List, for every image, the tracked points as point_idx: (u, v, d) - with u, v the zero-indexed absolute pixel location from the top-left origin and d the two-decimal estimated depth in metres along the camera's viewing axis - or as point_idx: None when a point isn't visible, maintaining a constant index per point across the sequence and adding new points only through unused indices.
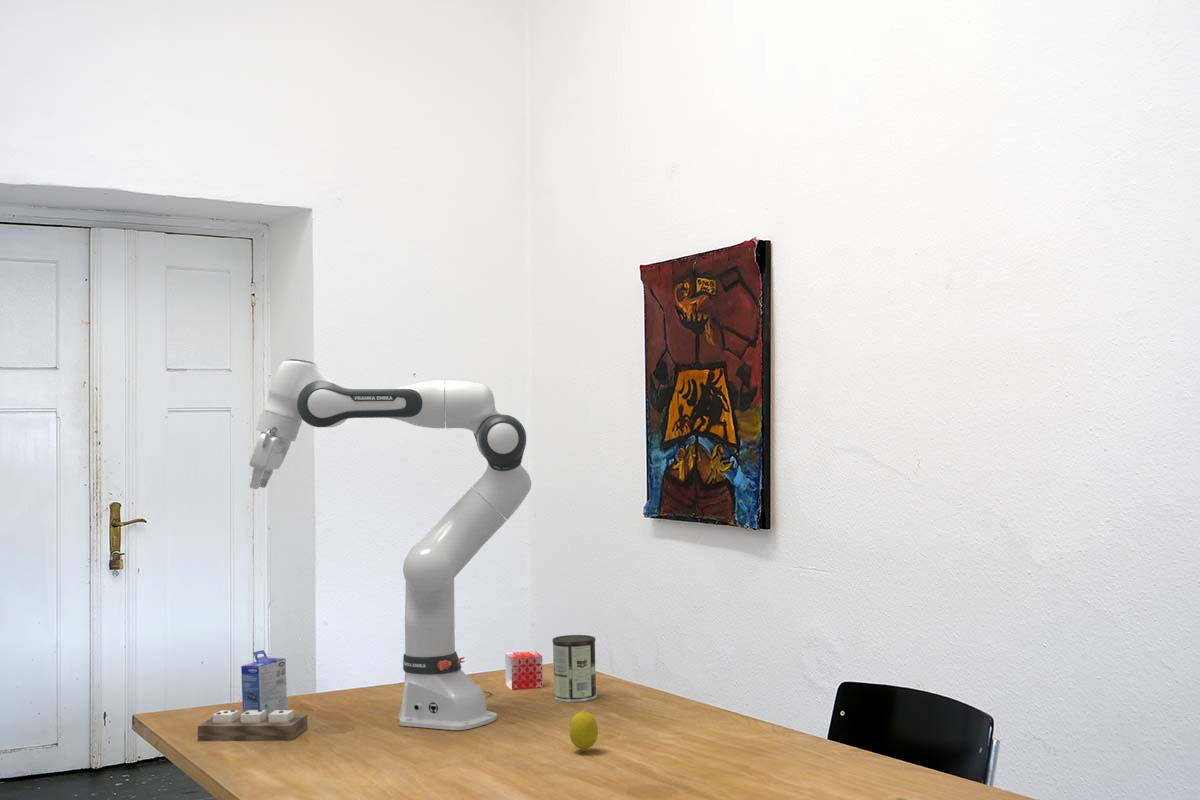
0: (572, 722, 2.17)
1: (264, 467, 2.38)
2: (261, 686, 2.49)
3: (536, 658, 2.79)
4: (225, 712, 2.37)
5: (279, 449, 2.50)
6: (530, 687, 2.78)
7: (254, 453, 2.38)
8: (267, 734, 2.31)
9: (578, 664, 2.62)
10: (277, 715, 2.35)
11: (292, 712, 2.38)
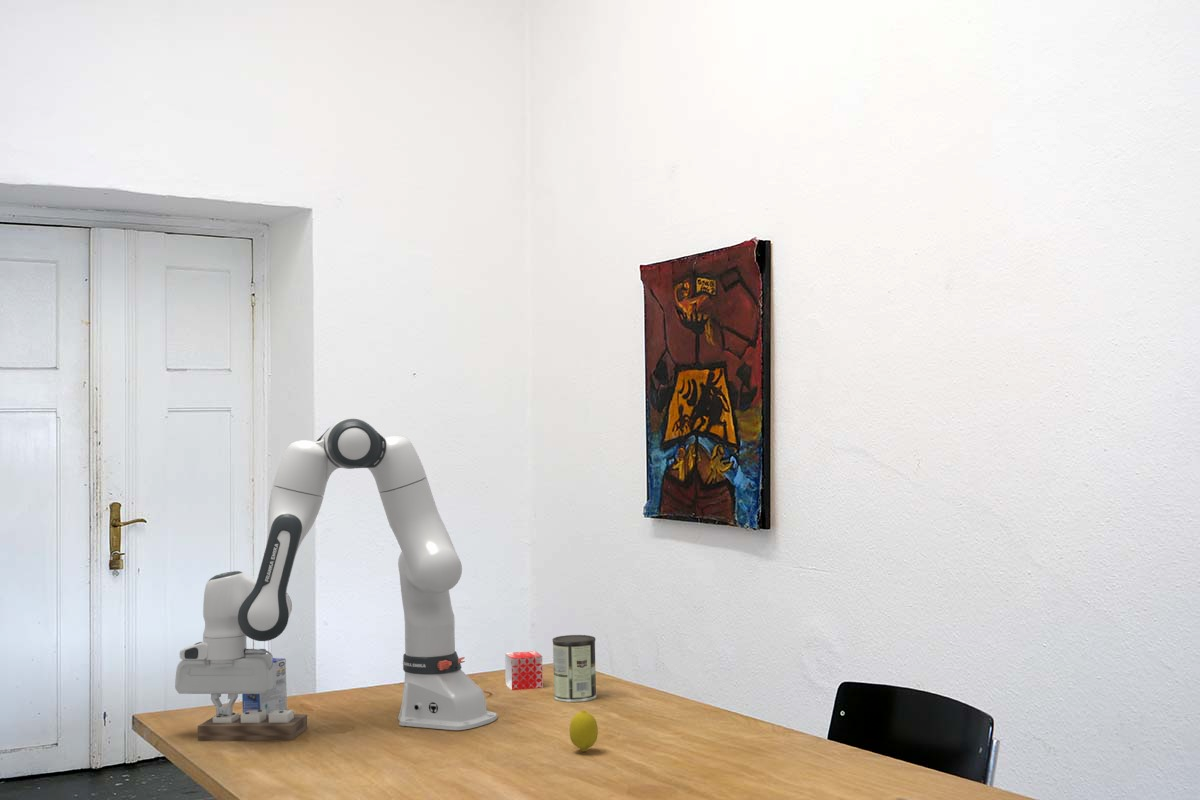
0: (572, 722, 2.17)
1: None
2: None
3: (536, 658, 2.79)
4: (225, 715, 2.37)
5: None
6: (530, 687, 2.78)
7: (268, 680, 2.35)
8: (267, 734, 2.31)
9: (578, 664, 2.62)
10: (277, 715, 2.35)
11: (292, 712, 2.38)
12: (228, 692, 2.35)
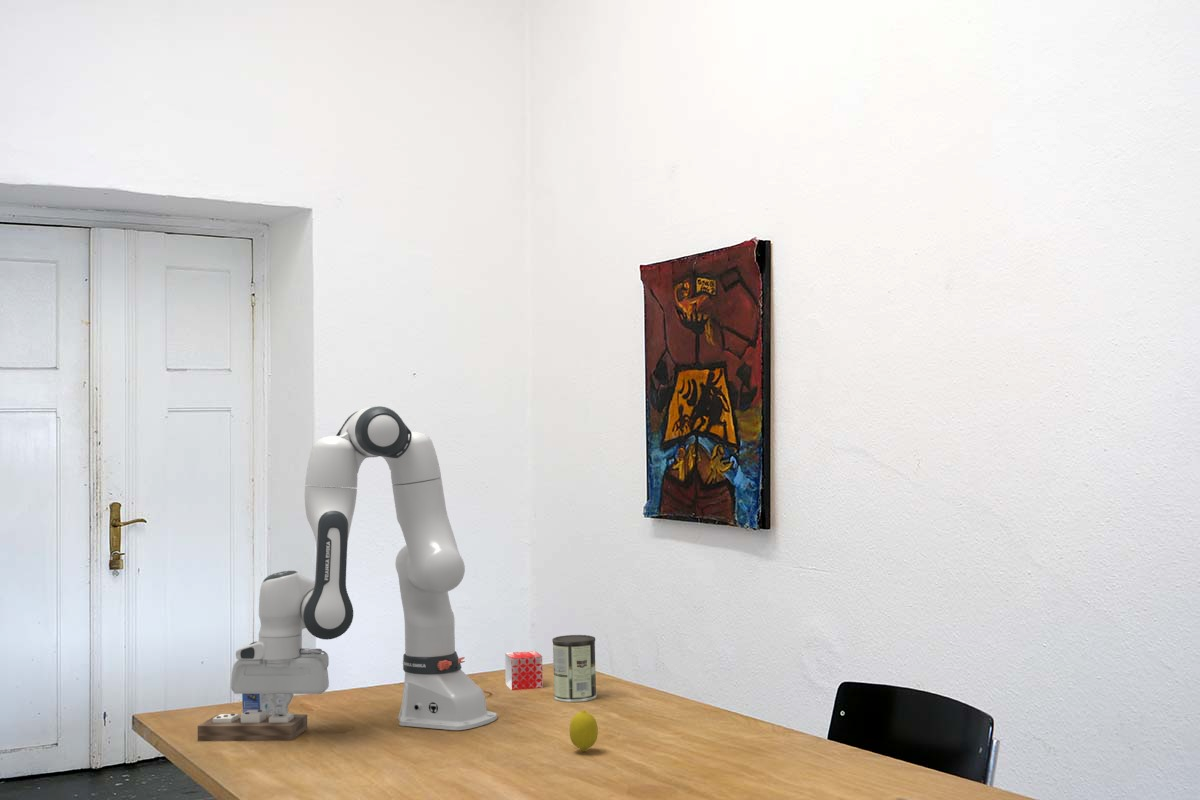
0: (572, 722, 2.17)
1: None
2: None
3: (536, 658, 2.79)
4: (225, 716, 2.37)
5: None
6: (530, 687, 2.78)
7: (324, 679, 2.35)
8: (267, 734, 2.31)
9: (577, 664, 2.62)
10: (277, 718, 2.35)
11: (292, 715, 2.38)
12: (284, 692, 2.35)
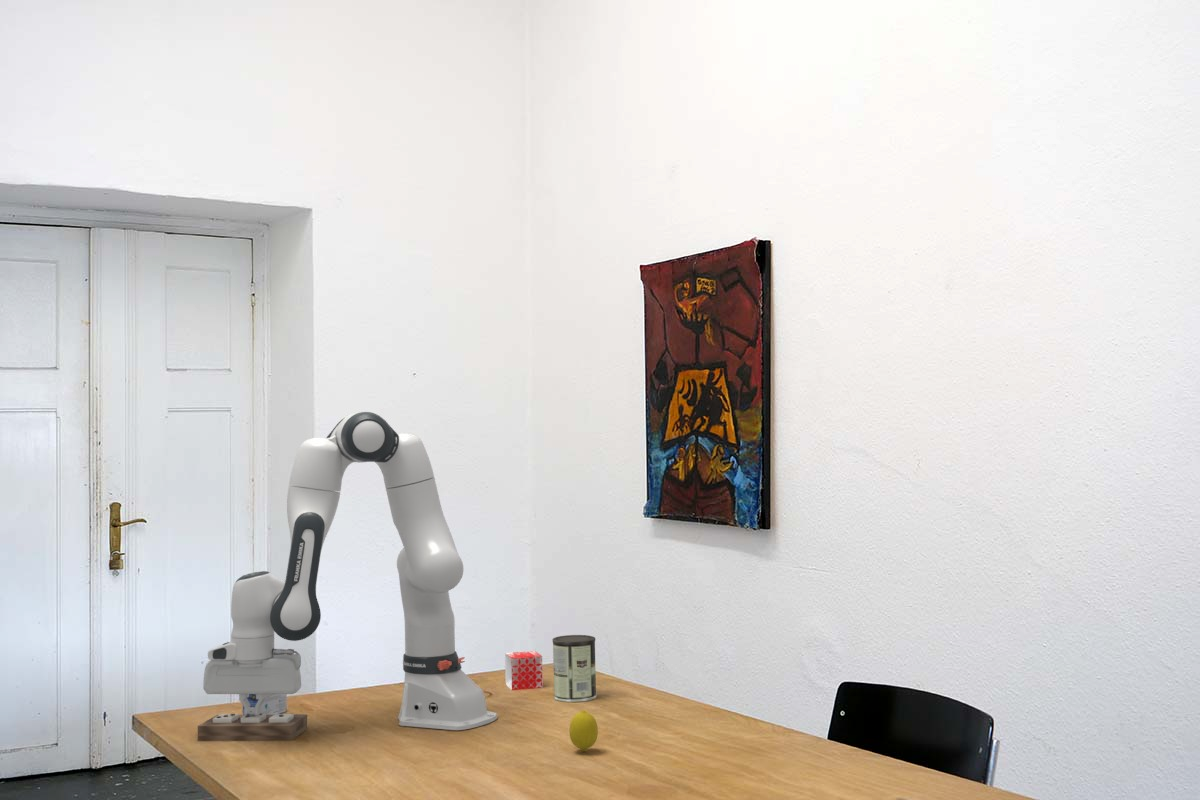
0: (572, 722, 2.17)
1: None
2: None
3: (536, 658, 2.79)
4: (225, 716, 2.37)
5: None
6: (530, 687, 2.78)
7: (296, 680, 2.35)
8: (267, 734, 2.31)
9: (578, 664, 2.62)
10: (277, 719, 2.35)
11: (292, 716, 2.38)
12: (256, 692, 2.35)
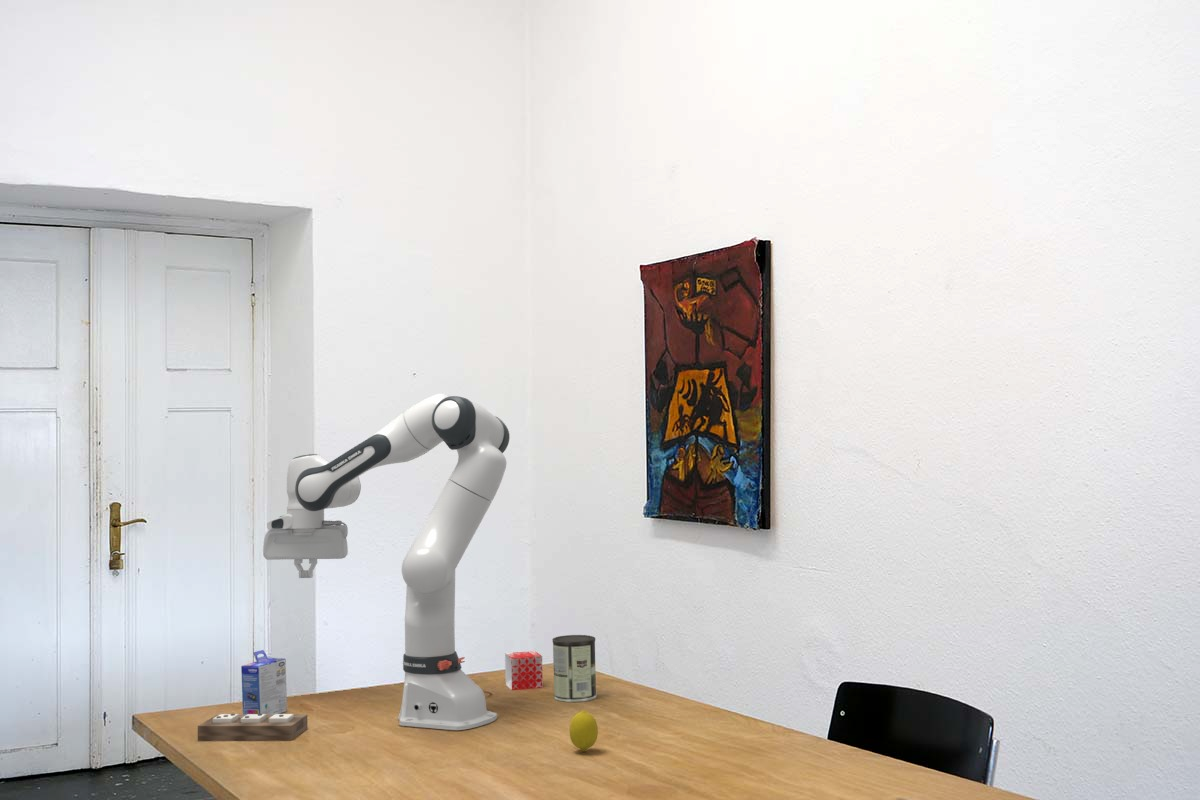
0: (572, 722, 2.17)
1: None
2: (261, 686, 2.49)
3: (536, 658, 2.79)
4: (225, 716, 2.37)
5: None
6: (530, 687, 2.78)
7: (344, 546, 2.71)
8: (267, 734, 2.31)
9: (578, 664, 2.62)
10: (277, 719, 2.35)
11: (292, 716, 2.38)
12: (309, 557, 2.71)
